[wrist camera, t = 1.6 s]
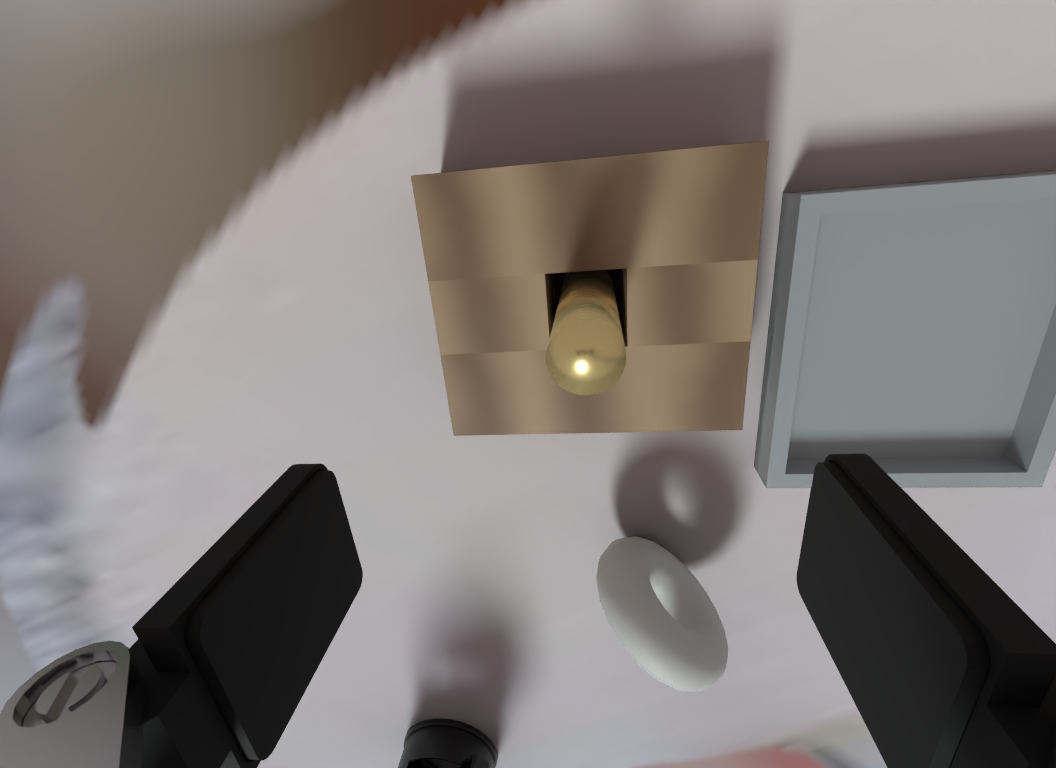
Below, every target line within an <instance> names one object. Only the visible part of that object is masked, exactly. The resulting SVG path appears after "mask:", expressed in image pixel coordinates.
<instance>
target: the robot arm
mask: <svg viewBox="0 0 1056 768" xmlns="http://www.w3.org/2000/svg"><path fill="white" fill-rule="evenodd" d="M361 583H362V568H361V564H360V561H359V557H358V554H357V550H356V547H355V543H354V540H353V536H352V533H351V529H350V526H349V522H348V519H347V515H346V512H345V508H344V505H343V501H342V498H341V494H340V491H339V487H338V484H337V480H336V477H335V475H334V473H333V472H332V471H328V470H327V468H326V467H325V466H324V465H323V464H295V465H292V466H291V467H290V468H288V470H287V471H286V472H285V473H284V474H283V475H282V476H281V477H280V478H279V479H278V480H277V481H276V482H275V483H274V484H273V485H272V486H271V487H270V488H269V489H268V490H267V491H266V492H265V493H264V494H263V495H262V496H261V497H260V498H259V499H258V500H257V501H256V502H255V503H254V504H253V505H252V506H251V507H250V508H249V509H248V510H247V511H246V512H245V513H244V514H243V515H242V516H241V517H240V518H239V519H238V520H237V521H236V522H235V523H234V524H233V525H232V526H231V527H230V528H229V529H228V530H227V532H226V533H225V534H224V535H223V536H222V537H221V538H220V539H219V540H218V541H217V542H216V543H215V544H214V545H213V546H212V547H211V548H210V549H209V550H208V551H207V552H206V553H205V554H204V555H203V556H202V557H201V558H200V559H199V560H198V561H197V562H196V563H195V564H194V565H193V566H192V567H191V568H190V569H189V570H188V571H187V572H186V573H185V574H184V575H183V576H182V577H181V578H180V579H179V580H178V581H177V582H176V583H175V584H174V585H173V586H172V587H171V588H170V589H169V590H168V591H167V592H166V594H165V595H164V596H163V597H162V598H161V599H160V600H159V601H158V602H157V603H156V604H155V605H154V606H153V607H152V608H151V609H150V610H149V611H148V612H147V613H146V614H145V615H144V616H143V617H142V618H141V619H140V620H139V621H138V622H137V623H136V624H135V625H134V626H133V627H132V628H133V630H134V632H135V633H136V635H137V637H138V640H137V641H136V642H135V643H134V644H133V645H132V646H131V648H130V649H129V648H128V647H126V646H125V645H124V644H123V643H121V642H115V641H105V642H99V643H93V644H90V645H87V646H85V647H82V648H79V649H76V650H74V651H72V652H70V653H68V654H66V655H64V656H62V657H60V658H58V659H56V660H55V661H53V662H52V663H50V664H49V665H47V666H46V667H44V668H43V669H41V670H40V671H38V672H37V673H36V674H34V675H33V676H32V677H31V678H30V679H29V680H27V681H26V682H25V683H24V684H23V685H22V686H20V687H19V689H18V690H17V691H16V692H15V693H14V694H13V695H12V697H11V698H10V699H9V700H8V701H7V702H6V704H5V706H4V708H3V709H2V711H1V713H0V768H257V766H258V765H259V763H260V761H261V760H265V759H266V758H268V757H269V755H270V754H271V753H272V752H273V750H274V748H275V747H276V745H277V743H278V741H279V739H280V737H281V735H282V733H283V732H284V730H285V728H286V726H287V724H288V722H289V720H290V718H291V717H292V715H293V713H294V711H295V709H296V707H297V705H298V703H299V702H300V700H301V698H302V696H303V694H304V692H305V690H306V688H307V687H308V685H309V683H310V681H311V679H312V677H313V675H314V673H315V672H316V670H317V668H318V666H319V664H320V662H321V660H322V658H323V657H324V655H325V653H326V651H327V649H328V647H329V645H330V643H331V642H332V640H333V638H334V636H335V634H336V632H337V630H338V628H339V627H340V625H341V623H342V621H343V619H344V617H345V615H346V613H347V612H348V610H349V608H350V606H351V604H352V602H353V600H354V598H355V597H356V595H357V593H358V591H359V589H360V587H361ZM797 585H798V589H799V593H800V595H801V597H802V599H803V601H804V603H805V605H806V607H807V609H808V611H809V613H810V615H811V617H812V619H813V621H814V623H815V625H816V627H817V629H818V631H819V633H820V635H821V637H822V639H823V641H824V643H825V645H826V647H827V649H828V651H829V653H830V655H831V657H832V659H833V661H834V663H835V665H836V667H837V669H838V670H839V672H840V674H841V676H842V678H843V680H844V682H845V684H846V686H847V688H848V690H849V692H850V694H851V696H852V698H853V700H854V702H855V704H856V706H857V708H858V710H859V712H860V714H861V716H862V718H863V720H864V722H865V724H866V726H867V728H868V730H869V732H870V734H871V736H872V738H873V740H874V742H875V744H876V746H877V747H878V749H879V751H880V753H881V755H882V757H883V759H884V761H885V763H886V765H887V767H888V768H1056V644H1055V643H1054V642H1053V641H1052V640H1051V639H1050V638H1049V637H1048V636H1047V635H1046V634H1045V633H1044V632H1043V631H1042V630H1041V629H1040V628H1039V627H1038V626H1037V625H1036V624H1035V623H1034V622H1033V621H1032V620H1031V619H1030V618H1029V617H1028V616H1027V615H1026V614H1025V613H1024V612H1023V611H1022V610H1021V609H1020V607H1019V606H1018V605H1017V604H1016V603H1015V602H1014V601H1013V600H1012V599H1011V598H1010V597H1009V596H1008V595H1007V594H1006V593H1005V592H1004V591H1003V590H1002V589H1001V588H1000V587H999V586H998V585H997V584H996V583H995V582H994V581H993V580H992V579H991V578H990V577H989V576H988V575H987V574H986V573H985V572H984V571H983V570H982V569H981V568H980V567H979V566H978V565H977V564H976V563H975V562H974V561H973V560H972V559H971V558H970V557H969V556H968V555H967V554H966V553H965V552H964V551H963V550H962V549H961V548H960V547H959V546H958V545H957V544H956V543H955V542H954V541H953V540H952V539H951V538H950V537H949V536H948V535H947V534H946V533H945V532H944V531H943V530H942V529H941V528H940V527H939V526H938V525H937V524H936V523H935V522H934V521H933V520H932V519H931V518H930V517H929V516H928V515H927V514H926V513H925V512H924V511H923V510H922V509H921V508H920V507H919V506H918V505H917V504H916V503H915V502H914V501H913V500H912V499H911V497H910V496H909V495H908V494H907V493H906V492H905V491H904V490H903V489H902V488H901V487H900V486H899V485H898V484H897V483H896V482H895V481H894V480H893V479H892V478H891V477H890V476H889V475H888V474H887V473H886V472H885V471H884V470H883V469H882V468H881V467H880V466H879V465H878V464H877V463H876V462H875V461H874V460H873V459H872V458H871V457H870V456H868V455H867V454H863V453H859V454H830V455H828V456H827V457H826V459H825V461H824V462H819V463H817V464H816V466H815V469H814V474H813V480H812V486H811V492H810V498H809V504H808V510H807V516H806V522H805V529H804V535H803V541H802V547H801V553H800V559H799V565H798V571H797Z"/></svg>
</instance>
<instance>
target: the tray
mask: <svg viewBox="0 0 1056 768" xmlns="http://www.w3.org/2000/svg"><path fill="white" fill-rule="evenodd" d="M1055 451H1056V170H1055V171H1043V172H1031V173H1019V174H1007V175H995V176H983V177H971V178H959V179H947V180H935V181H923V182H911V183H899V184H887V185H875V186H863V187H851V188H839V189H827V190H815V191H803V192H791V193H783V197H782V207H781V216H780V226H779V235H778V244H777V254H776V263H775V273H774V282H773V292H772V301H771V310H770V320H769V329H768V339H767V348H766V357H765V367H764V376H763V386H762V395H761V404H760V414H759V423H758V433H757V442H756V452H755V461H754V467H755V469H756V471H757V472H758V474H759V476H760V478H761V480H762V482H763V483H764V485H765V487H766V488H811V486H812V480H813V474H814V469H815V466H816V464H817V463H819V462H824V461H825V459H826V457H827V456H828V455H830V454H859V453H863V454H867V455H868V456H870V457H871V458H872V459H873V460H874V461H875V462H876V463H877V464H878V465H879V466H880V467H881V468H882V469H883V470H884V471H885V472H886V473H887V474H888V475H889V476H890V477H891V478H892V479H893V480H894V481H895V482H896V483H897V484H898V485H899V486H900V487H901V488H941V487H1042V485H1043V482H1044V480H1045V477H1046V475H1047V472H1048V469H1049V467H1050V464H1051V461H1052V459H1053V456H1054V453H1055Z"/></svg>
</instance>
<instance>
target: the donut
mask: <svg viewBox="0 0 1056 768" xmlns="http://www.w3.org/2000/svg"><path fill="white" fill-rule="evenodd" d="M597 586H598V592H599V597H600V602H601V605H602V607H603V610H604V612H605V615H606V617H607V620H608V622H609V624H610V626H611V627H612V629H613V631H614V632H615V634H616V636H617V637H618V639H619V641H620V643H621V644H622V645H623V647H624V648H625V649H626V650H627V651H628V653H629V654H630V655H631V656H632V658H633V659H634V660H635V661H636V662H637V664H638V665H640V666H641V667H642V668H643V669H644V670H645V671H647V672H648V673H649V674H650V675H651V676H653V677H654V678H655V679H656V680H658V681H660V682H662V683H664V684H666V685H668V686H670V687H672V688H674V689H676V690H678V691H699V692H701V691H704V690H707V689H709V688H710V687H711V686H712V685H713V684H714V683H715V682H716V681H718V680H719V679H720V678H721V677H722V676H723V673H724V671H725V668H726V663H727V657H728V645H727V640H726V635H725V630H724V628H723V625H722V623H721V620H720V618H719V615H718V613H717V611H716V609H715V607H714V605H713V603H712V602H711V600H710V598H709V596H708V595H707V593H706V591H705V590H704V589H703V587H702V586H701V585H700V583H699V582H698V580H697V579H696V578H695V576H694V575H693V574H692V573H691V572H690V571H689V570H688V569H687V568H686V567H685V565H684V564H683V563H682V562H681V561H679V560H678V559H677V558H676V557H675V556H674V555H672V554H671V553H670V552H669V551H667V550H666V549H665V548H663V547H661V546H660V545H658V544H656V543H655V542H653V541H650V540H647V539H644V538H640V537H636V536H633V537H627V538H621V539H617V540H615V541H614V542H612V543H611V544H610V545H609V547H608V548H607V549H606V550H605V551H604V553H603V554H602V555H601V557H600V560H599V564H598V570H597Z"/></svg>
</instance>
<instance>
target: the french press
mask: <svg viewBox="0 0 1056 768" xmlns="http://www.w3.org/2000/svg"><path fill="white" fill-rule="evenodd" d="M423 759H440V760H445V761H449V762H453V763H455V764H458V765H461V767H460V768H495V767H496V763H497V752H496V749H495V747H494V745H493V744H492V742H491V741H490V740H489V739H488V738H487V737H486V735H484V734H483V733H481V732H480V731H479V730H477V729H475V728H473V727H472V726H469V725H467V724H464V723H461V722H457V721H453V720H446V719H433V720H426V721H423V722H420V723H418V724H416V725H415V726H413V727H412V728H411V729H410V730H409V731H408V733H407V735H406V737H405V741H404V751H403V754H402V757H401V760H400V763H399V766H398V768H434V767H432V766H430V765H429V764H427V763H426V762H425V761H424V760H423Z"/></svg>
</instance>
